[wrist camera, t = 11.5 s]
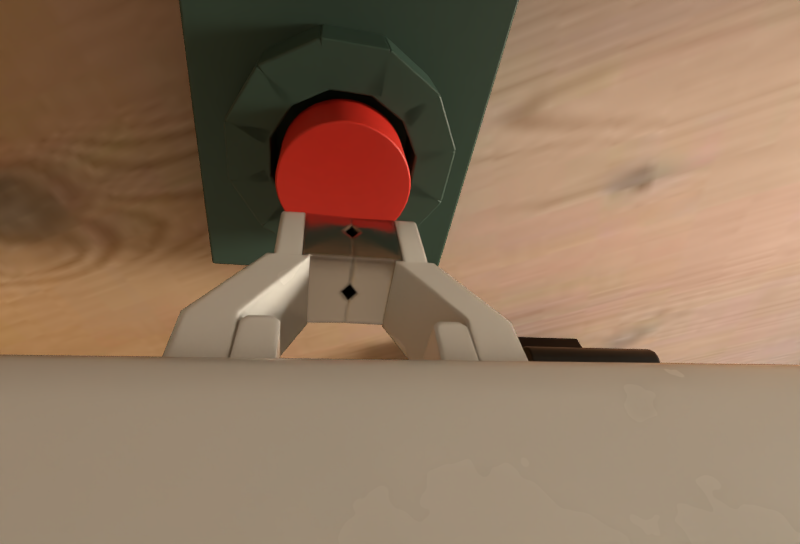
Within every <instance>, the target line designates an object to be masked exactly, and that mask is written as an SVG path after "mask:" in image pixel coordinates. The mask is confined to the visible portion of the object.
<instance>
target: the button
mask: <svg viewBox="0 0 800 544" xmlns="http://www.w3.org/2000/svg"><path fill="white" fill-rule="evenodd" d="M275 185H276V191H277V196H278V198H279V201H280V203H281V205H282V207H283V209H284V211H291V212H305V214H307V213H312V214H321V215H331V216H341V217H351V218H358V219H375V220H392V221H395V220H396V219H397V218H398V217H399V216H400V214H401V212H402V211H403V209H404V207H405V205H406V203H407V201H408V197H409V194H410V187H411V178H410V171H409V167H408V164H407V160H406V157H405V154H404V151H403V148H402V145H401V141H400V138H399V136H398V134H397V132H396V130H395V128H394V127H393V125H392V124H391V123H390V121H389V120H388V119H387V118H386V117H385V116H384V115H383V114H382V113H380V112H379V111H377V110H376V109H375V108H373V107H371V106H369V105H367V104H365V103H362V102H359V101H355V100H350V99H330V100H325V101H322V102H319V103H316V104H314V105H312V106H310V107H308V108H306V109H305V110H304V111H302V112H301V113H300V114H299V115H298V116H297V117H296V118H295V119H294V120H293V121H292V123H291V124H290V125H289V127H288V129H287V131H286V133H285V136H284V138H283V142H282V147H281V151H280V155H279V159H278V163H277V168H276V174H275Z"/></svg>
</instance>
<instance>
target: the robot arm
mask: <svg viewBox="0 0 800 544" xmlns="http://www.w3.org/2000/svg"><path fill="white" fill-rule="evenodd" d="M307 322H313V323H360V324H377V325H382V327H383V328H384V329H385V330H386V332H387V333H388V334H389V335H390V337H391V338H392V339H393V340H394V342H395V343H396V344H397V345H398V347H399V348H400V349H401V350H402V352H403V353H404V354H405V355H406V357H407V358H408V359H409V360H384V359H302V358H280V356H281V355H282V353H283V352H284V351H285V350H286V349H287V347H288V346H289V345H290V344H291V343H292V341H293V340H294V339H295V338H296V337H297V335H298V334H299V333H300V332H301V331H302V329H303V328H304V327H305V326H306V324H307ZM0 544H800V365H782V364H704V363H625V362H541V361H528V359H527V357H526V354H525V352H524V350H523V348H522V346H521V343H520V341H519V339H518V337H517V335H516V332H515V330H514V328H513V326H512V324H511V322H510V321H508V320H507V319H506V318H504V317H503V316H502V315H500V314H499V313H498V312H497V311H495V310H494V309H493V308H491V307H490V306H489V305H487V304H486V303H485V302H484V301H482V300H481V299H480V298H478V297H477V296H476V295H474V294H473V293H472V292H471V291H469V290H468V289H467V288H465V287H464V286H463V285H461V284H460V283H459V282H458V281H456V280H455V279H454V278H452V277H451V276H450V275H448V274H447V273H446V272H444V271H443V270H442V269H441V268H439V267H438V266H437V265H435V264H434V263H428V262H427V258H426V255H425V252H424V248H423V245H422V242H421V238H420V235H419V231H418V228H417V225H416V223H415V222H414V221H392V220H375V219H358V218H351V217H341V216H331V215H321V214H312V213H307V214H305V212H291V211H283V212H282V213H281V217H280V222H279V228H278V233H277V239H276V244H275V249H274V253H266V254H264V255H263V256H261V257H260V258H258V259H257V260H255V261H254V262H252V263H251V264H250V265H248V266H247V267H245V268H244V269H242V270H241V271H239V272H238V273H236V274H235V275H233V276H232V277H230V278H229V279H227V280H226V281H224V282H223V283H221V284H220V285H218V286H217V287H215V288H214V289H212V290H211V291H209V292H208V293H206V294H205V295H203V296H202V297H200V298H199V299H197V300H196V301H195V302H193V303H192V304H190V305H189V306H187V307H186V308H184V309H183V310H181V312H180V314H179V316H178V319H177V321H176V324H175V326H174V329H173V331H172V334H171V336H170V339H169V341H168V344H167V346H166V348H165V351H164V353H163V356H162V357H149V356H72V355H0Z"/></svg>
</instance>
